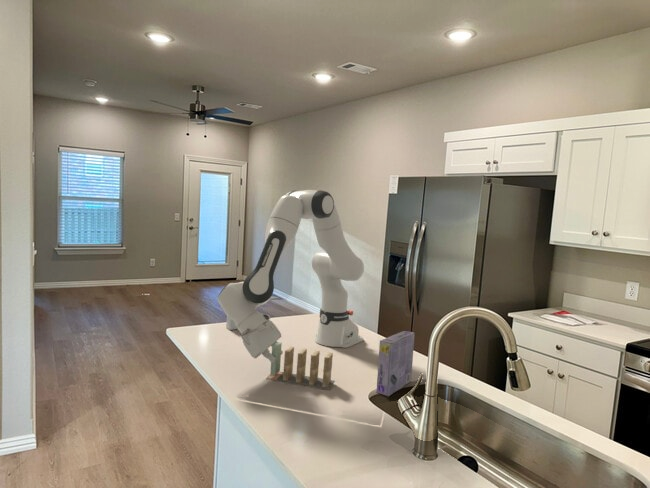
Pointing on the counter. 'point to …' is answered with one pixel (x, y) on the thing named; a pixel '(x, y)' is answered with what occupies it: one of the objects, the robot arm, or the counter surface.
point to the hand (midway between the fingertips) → (277, 357)
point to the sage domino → (276, 364)
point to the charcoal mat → (304, 383)
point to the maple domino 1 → (288, 363)
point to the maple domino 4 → (327, 370)
